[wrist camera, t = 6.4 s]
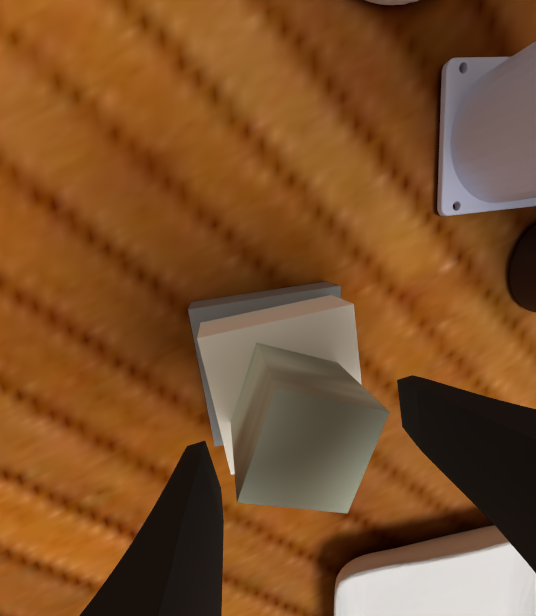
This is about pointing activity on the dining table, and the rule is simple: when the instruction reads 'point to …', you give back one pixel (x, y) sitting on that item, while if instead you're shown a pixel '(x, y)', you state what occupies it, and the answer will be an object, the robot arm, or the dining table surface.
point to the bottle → (524, 271)
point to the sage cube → (302, 432)
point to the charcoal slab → (245, 304)
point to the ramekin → (391, 2)
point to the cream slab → (277, 333)
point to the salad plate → (440, 579)
